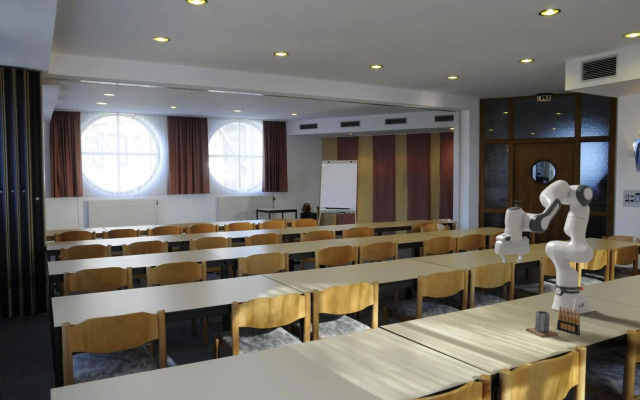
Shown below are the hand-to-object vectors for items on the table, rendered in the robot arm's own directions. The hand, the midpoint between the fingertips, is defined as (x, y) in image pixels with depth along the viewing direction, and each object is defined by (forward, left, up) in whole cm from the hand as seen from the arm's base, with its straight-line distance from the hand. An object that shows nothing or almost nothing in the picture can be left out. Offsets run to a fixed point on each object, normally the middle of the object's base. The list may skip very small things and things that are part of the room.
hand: (511, 262), depth 269 cm
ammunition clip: (-10, +31, -29) cm, 44 cm away
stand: (+4, +29, -29) cm, 41 cm away
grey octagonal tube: (+4, +29, -28) cm, 41 cm away
